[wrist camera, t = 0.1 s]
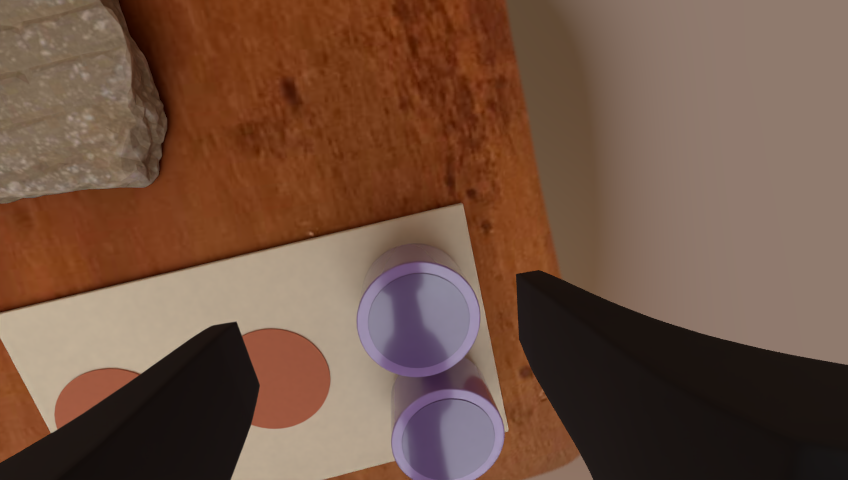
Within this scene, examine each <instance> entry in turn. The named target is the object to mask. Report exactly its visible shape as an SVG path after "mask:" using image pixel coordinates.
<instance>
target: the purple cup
mask: <svg viewBox="0 0 848 480" xmlns="http://www.w3.org/2000/svg"><path fill="white" fill-rule="evenodd" d="M356 322H357V331H358V336H359V339H360V341H361V344H362V346H363V348H364V349H365V351H366V352H367V354H368V355H369V356H370V357H371V358H372V359H373V360H374V361H375V362H376V363H377V364H378V365H380V366H381V367H383V368H384V369H386V370H388V371H390V372H392V373H395V374H398V375H402V376H407V377H426V376H431V375H435V374H438V373H441V372H443V371H445V370H447V369H449V368H451V367H452V366H454V365H455V364H457V363H458V362H459V361H460V360H461V359H462V358H463V357H464V356H465V355H466V354H467V353H468V352H469V350H470V349H471V347H472V346H473V344H474V342H475V340H476V337H477V335H478V331H479V327H480V306H479V303H478V299H477V297H476V294H475V292H474V290H473V289H472V287H471V286H470V284H469V282H468V281H467V279H466V277H465V276H464V274H463V273H462V271H461V269H460V268H459V266H458V264H457V263H456V262H455V261H454V260H453V259H452V258H451V257H450V256H449V255H448V254H447V253H445V252H444V251H442V250H440V249H438V248H436V247H433V246H430V245H426V244H418V243H413V244H404V245H400V246H397V247H394V248H392V249H390V250H388V251H386V252H385V253H383V254H382V255H381V256H380V257H378V258H377V259H376V260H375V261H374V262H373V264H372V265H371V266H370V268H369V269H368V271H367V273H366V275H365V278H364V281H363V285H362V290H361V295H360V300H359V305H358V311H357V320H356Z"/></svg>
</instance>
